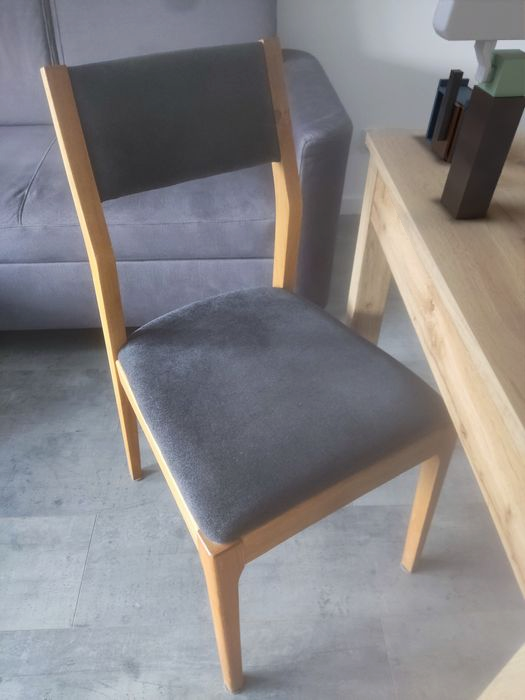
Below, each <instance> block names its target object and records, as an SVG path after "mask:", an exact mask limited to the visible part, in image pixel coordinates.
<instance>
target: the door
mask: <svg viewBox="0 0 525 700" xmlns="http://www.w3.org/2000/svg"><path fill="white" fill-rule="evenodd" d="M464 74H465V72H464V71H463V70H461V69H459V68H458V69H455V68H454V69H450V72H449V76H448V79H449V80H448V83H447V87H446V91H445V95H443V99H442V103H441V107H440V111H439V114H438V118H437V122H436V126H435V130H434V134H433V138H432V142H431V144H430V145H429V148H430V149H431V150H433V151H434V152H435V154H437V156H438V157H440V158H441V159H442V160H445V159H446V156H447V152H448V149H449V145H450V142H451V138H452V135H453V131H454V128H455V124H456V120H457V117H458V113H459V110H460V106H459V105H458V104H457V103H456V99H457V96H458V92H459V88H460V85H461V81H462V78H463V77H464Z"/></svg>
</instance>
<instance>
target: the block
mask: <svg viewBox="0 0 525 700" xmlns="http://www.w3.org/2000/svg"><path fill="white" fill-rule="evenodd" d="M489 53H490V60H491V64H492V65H494V66H496V67H497V70H496V73H495V75H494V79H493V81H492V83H479V82H477V85H478V87H480V88H481V89H483V90H484V91H486V92H487V93H488V94H490V95H491V96H493V97H516V96H525V51H524V50H522V49H520V48H507V49H506V48H504V49H502V48H499V49H498V48H497V49H496V48H495V50H494V51H490V50H489Z"/></svg>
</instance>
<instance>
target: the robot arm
mask: <svg viewBox="0 0 525 700" xmlns="http://www.w3.org/2000/svg"><path fill="white" fill-rule="evenodd" d="M435 6H436V7H435V11H434V13H433V18H432V28H433V30H434V33H435V34H436V35H437V36H439V37H440V38H442V39H443V40H445V41H448V42H456V41H457V42H459V41H461V42H462V41H467V42H468V41H474V45H473V48H474V52H475V56H476V61H477V67H476V71H475V74H474V80H475V82H477V83H492V81H493V79H494V75H495V73H496V70H497V67H496V66H494V65H492V64H491V60H490V53H489V50H490V51H494V50H495V49H496V47H497V43H498V41H525V0H437V4H436V5H435Z"/></svg>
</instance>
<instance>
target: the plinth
mask: <svg viewBox="0 0 525 700" xmlns="http://www.w3.org/2000/svg"><path fill="white" fill-rule="evenodd" d="M472 89H473V90H472V94H471V97H470V101H469V104H468V107H467V111H466V114H465V118H464V121H463V125H462V128H461V131H460V135H459V138H458V142H457V145H456V149H455V152H454V155H453V159H452V162H451V163H450V166H449V170H448V172H447V176H446V179H445V183H444V187H443V190H442V193H441V197H440V200H439V203H440V204H441V205H442V206H443V208H444V209H446V211H447V212H448V213H449V214H450V216H452V218H453V219H454V220H470V219H471V220H472V219H485V218H486V215H487V213H488V211H489V207H490V205H491V202H492V199H493V197H494V194H495V191H496V188H497V187H498V186H497V185H498V183H499V180H500V178H501V175H502V172H503V169H504V167H505V166H504V165H505V163H506V160H507V158H508V155H509V153H510V150H511V147H512V144H513V142H514V139H515V136H516V134H517V131H518V128H519V126H520V122H521V119H522V117H523V114H524V111H525V96H516V97H493V96H491V95H490V94H488V93H487V92H486V91H484V90H483V89H481V88H480V87H478V84H473V87H472Z"/></svg>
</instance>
